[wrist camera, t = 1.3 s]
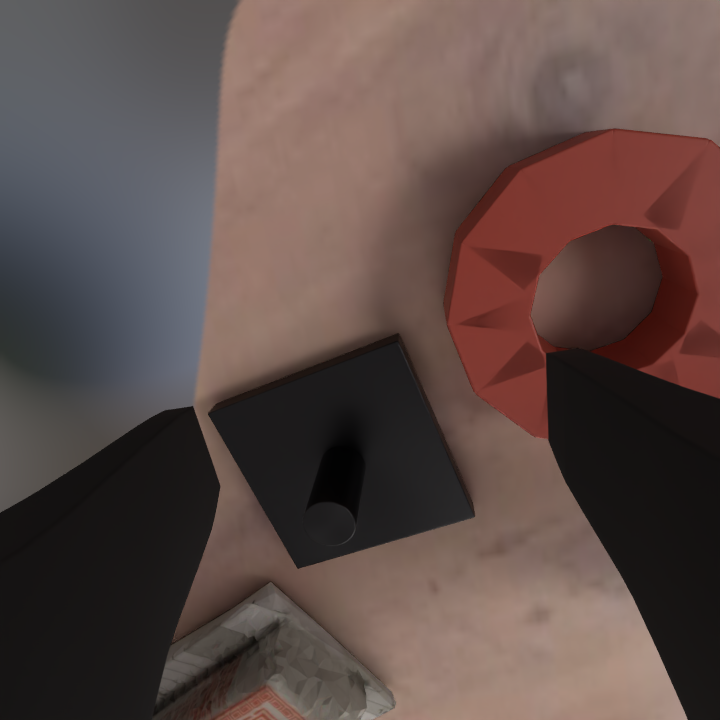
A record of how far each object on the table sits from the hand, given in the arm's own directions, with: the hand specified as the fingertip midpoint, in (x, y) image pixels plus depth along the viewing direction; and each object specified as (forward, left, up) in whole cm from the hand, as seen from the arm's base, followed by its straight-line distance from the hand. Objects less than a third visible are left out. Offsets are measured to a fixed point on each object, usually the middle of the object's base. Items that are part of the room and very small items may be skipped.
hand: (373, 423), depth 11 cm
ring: (-7, +3, -12) cm, 14 cm away
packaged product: (+19, +19, -12) cm, 29 cm away
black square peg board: (+5, +6, -12) cm, 14 cm away
